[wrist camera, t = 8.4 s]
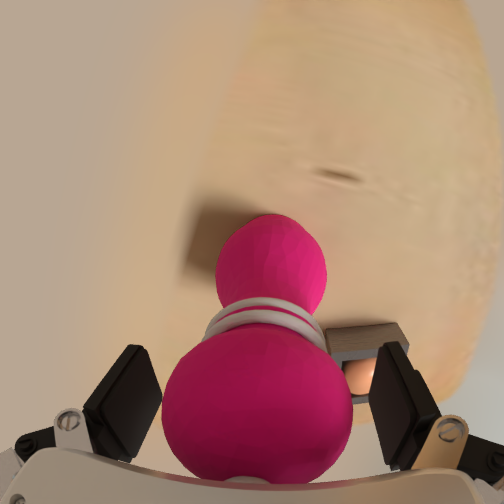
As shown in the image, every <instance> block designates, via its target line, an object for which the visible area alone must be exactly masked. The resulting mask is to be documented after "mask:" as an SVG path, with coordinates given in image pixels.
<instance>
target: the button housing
mask: <svg viewBox="0 0 504 504" xmlns="http://www.w3.org/2000/svg"><path fill="white" fill-rule="evenodd" d="M392 341H398V342H399V343H400V345H401V346H402V348H403V350H404V352H405V354H406V356H407V352H408V348H409V342H408V341H407V339H406V337H405V335H404V334H403V332H402V330H401V329H400V327H399V325H398V323H391V324H382V325H372V326H361V327H349V328H335V329H326V342H325V345H326V348H327V353H328V354H329V355H330V356H331V358H332V359H333V360H334V361H335V362H336V364H337V365H338V366H339V368H340V369H341V367H342V361H348V360H359V359H368V358H377V354H378V349H379V347H381V346H383V344H384V343H385V342H392ZM368 394H369V393H367V394H361V395H359V394H353V393H351V398H352V404H361V403H368V402H369V400H368Z"/></svg>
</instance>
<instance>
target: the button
mask: <svg viewBox="0 0 504 504" xmlns="http://www.w3.org/2000/svg"><path fill="white" fill-rule="evenodd" d="M376 359H377V358H368V359H359V360H348V361H342V367H341V370H342V371H343V373H344V376H345V378H346V381H347V383H348V386H349V389H350V391H351V393H353V394H359V395H361V394H367V393H369V390H370V386H371V382H372V377H373V373H374V369H375V364H376Z"/></svg>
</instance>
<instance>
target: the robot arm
mask: <svg viewBox="0 0 504 504" xmlns="http://www.w3.org/2000/svg"><path fill="white" fill-rule="evenodd" d="M162 397H163V396H162V392H161V389H160V386H159V384H158V381H157V378H156V375H155V372H154V369H153V367H152V364H151V361H150V358H149V354H148V352H147V350H146V349H144V347H143V346H141V345H132V344H130V345H128V346H127V347H126V349H125V350H124V351H123V353H122V354H121V355H120V356H119V358H118V359H117V360H116V362H115V363H114V365H113V366H112V367H111V368H110V370H109V371H108V373H107V374H106V375H105V377H104V378H103V379H102V381H101V382H100V383H99V385H98V386H97V388H96V389H95V390H94V392H93V393H92V395H91V396H90V397H89V399H88V400H87V401H86V403H85V404H84V406H83V408H84V409H83V410H82V412H81V411H80V410H78V409H75V408H69V409H65V410H63V411H61V412H60V413H59V414H58V415H57V416H56V417H55V419H54V426H52V427H49V428H46V429H42V430H39V431H35V432H32V433H28V434H25V435H22V436H21V437H20V438H19V439H18V440H17V441H16V444H15V449H14V450H13V449H12V448H9V449H7V450H6V451H4V452H2V453H0V504H504V446H503V445H500V444H497V443H494V442H490V441H488V440H485V439H482V438H479V437H476V436H473V435H470V434H468V433H469V428H468V425H467V423H466V421H465V420H463V419H462V418H461V417H459V416H456V415H445V416H442V415H441V413H440V411H439V409H438V407H437V405H436V403H435V401H434V399H433V397H432V395H431V393H430V391H429V389H428V387H427V385H426V383H425V381H424V379H423V378H422V376H421V374H420V372H419V371H418V370H414V369H413V367H412V365H411V363H410V361H409V359H408V357H407V356H406V354H405V352H404V350H403V348H402V346H401V345H400V343H399V342H398V341H392V342H385V343H384V344H383V346H381V347H379V349H378V354H377V359H376V364H375V369H374V373H373V377H372V382H371V386H370V390H369V394H368V400H369V405H370V408H371V412H372V415H373V419H374V422H375V426H376V430H377V434H378V437H379V441H380V445H381V449H382V453H383V457H384V462H385V464H386V465H390V469H391V471H394V470H398V469H400V471H399V472H394V473H388V474H382V475H376V476H370V477H365V478H357V479H349V480H341V481H332V482H320V483H305V484H250V483H235V482H223V481H214V480H206V479H199V478H192V477H186V476H180V475H174V474H169V473H164V472H160V471H155V470H150V469H147V468H143V467H139V466H135V465H131V464H128V463H130V462H131V460H132V458H135V457H136V456H137V454H138V452H139V449H140V447H141V445H142V443H143V441H144V439H145V436H146V434H147V432H148V430H149V428H150V426H151V423H152V421H153V419H154V417H155V415H156V413H157V411H158V408H159V406H160V404H161V402H162ZM118 460H120V461H123V462H120V461H118ZM124 462H127V463H124Z"/></svg>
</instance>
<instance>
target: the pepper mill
mask: <svg viewBox="0 0 504 504" xmlns="http://www.w3.org/2000/svg"><path fill="white" fill-rule="evenodd" d="M215 278H216V287H217V293H218V296H219V300H220V302H221V304H222V306H223V308H224V309H222V310H221V311H220V312H219V313H218V314H217V315H215V316H214V318H213V319H212V320H211V322H210V323H209V325H208V327H207V329H206V332H205V336H204V338H203V339H202V341H201V343H199V344H198V345H197V346H196V347H194V348H193V349H192V350H191V351H190V352H188V353H187V354H186V355H185V356H184V357H182V358H181V359H180V361H179V362H178V364H177V366H176V367H175V369H174V370H173V372H172V374H171V376H170V378H169V380H168V382H167V385H166V389H165V392H164V396H163V400H162V418H161V420H162V425H163V429H164V433H165V437H166V440H167V442H168V444H169V446H170V448H171V450H172V452H173V454H174V455H175V456H176V457H177V458H178V460H179V461H180V462H181V463H182V464H183V466H184V467H185V468H187V469H188V470H189V471H190V472H192V473H193V474H194V475H195V476H197V477H199V478H201V479H206V480H214V481H223V482H235V483H250V484H305V483H309V482H311V481H312V480H314V479H316V478H318V477H319V476H320V475H322V474H323V473H324V472H325V471H326V470H328V469H329V468H330V467H331V466H332V465H333V464H334V463H335V462H336V460H337V459H338V457H339V456H340V455H341V453H342V452H343V450H344V448H345V446H346V444H347V441H348V439H349V436H350V433H351V427H352V421H353V404H352V398H351V391H350V389H349V386H348V383H347V381H346V378H345V376H344V373H343V371H342V370H341V369H340V368H339V366H338V365H337V364H336V362H335V361H334V360H333V359H332V358H331V356H330V355H329V354H328V353H327V348H326V345H325V338H324V334H323V332H322V330H321V328H320V326H319V324H318V323H317V321H316V320H315V319H314V318H313V317H312V316H311V315H312V314H313V313H314V311H315V310H316V308H317V307H318V305H319V303H320V301H321V300H322V297H323V294H324V291H325V287H326V282H327V271H326V265H325V259H324V256H323V253H322V250H321V248H320V247H319V245H318V243H317V242H316V241H315V239H314V238H313V237H312V236H311V235H310V234H309V233H308V232H307V231H305V229H304V228H303V227H302V226H301V225H300V224H299V223H297V222H296V221H294V220H292V219H290V218H288V217H285V216H282V215H273V214H272V215H264V216H260V217H257V218H255V219H253V220H252V221H250V222H248V223H247V224H246V225H245V226H243V227H242V228H240V229H238V230H237V231H236V232H235V233H234V234H233V235H232V236H230V237H229V239H228V240H227V241H226V243H225V244H224V246H223V248H222V250H221V252H220V255H219V258H218V262H217V266H216V275H215Z"/></svg>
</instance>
